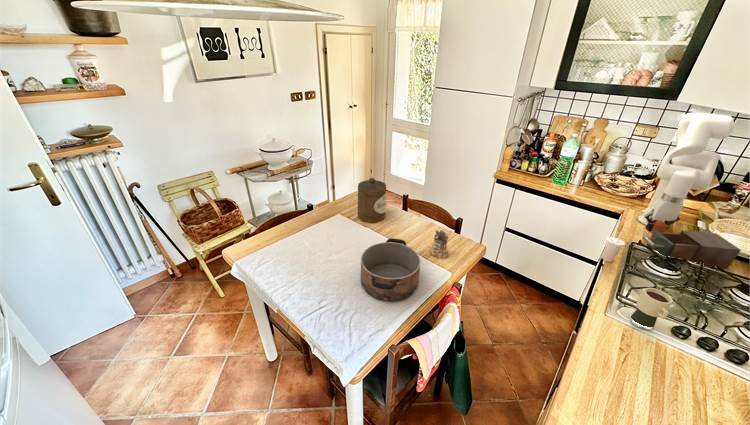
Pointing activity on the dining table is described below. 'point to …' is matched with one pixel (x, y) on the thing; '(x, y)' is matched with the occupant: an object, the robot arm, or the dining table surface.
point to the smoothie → (612, 248)
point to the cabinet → (712, 249)
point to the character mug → (651, 306)
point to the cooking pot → (390, 270)
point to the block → (659, 226)
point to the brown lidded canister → (371, 200)
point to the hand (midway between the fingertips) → (654, 230)
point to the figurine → (439, 245)
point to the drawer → (672, 245)
